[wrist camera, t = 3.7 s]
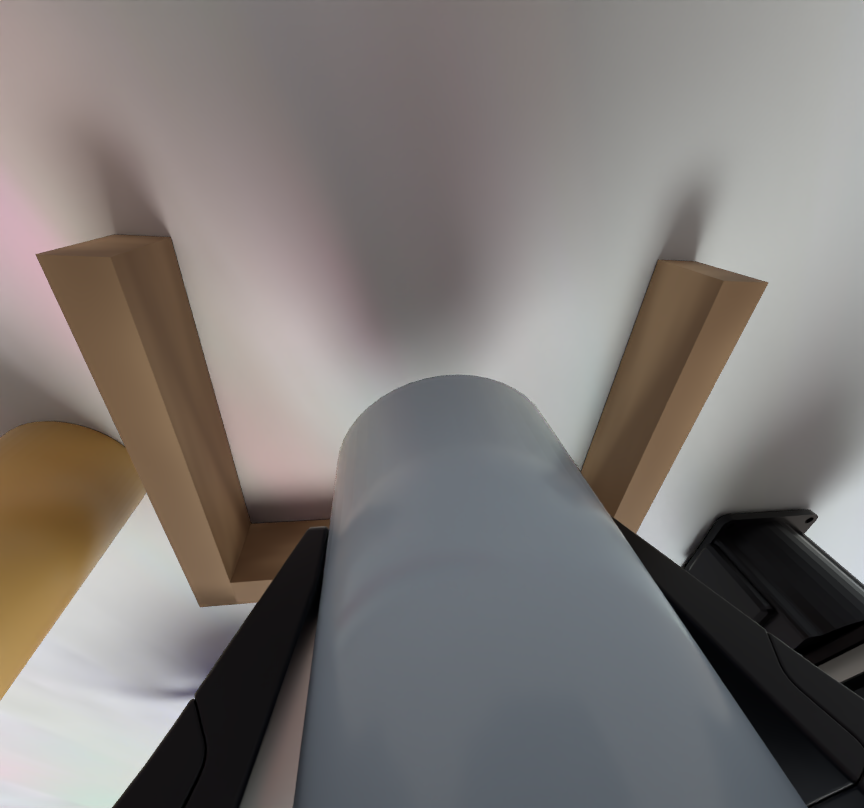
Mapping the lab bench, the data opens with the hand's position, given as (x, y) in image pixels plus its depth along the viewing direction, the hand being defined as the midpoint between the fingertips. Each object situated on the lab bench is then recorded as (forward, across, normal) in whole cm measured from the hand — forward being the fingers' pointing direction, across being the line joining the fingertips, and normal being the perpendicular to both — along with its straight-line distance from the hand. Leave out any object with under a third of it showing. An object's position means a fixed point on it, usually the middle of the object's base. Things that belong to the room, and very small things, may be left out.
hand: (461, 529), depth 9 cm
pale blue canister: (+2, 0, +1) cm, 2 cm away
